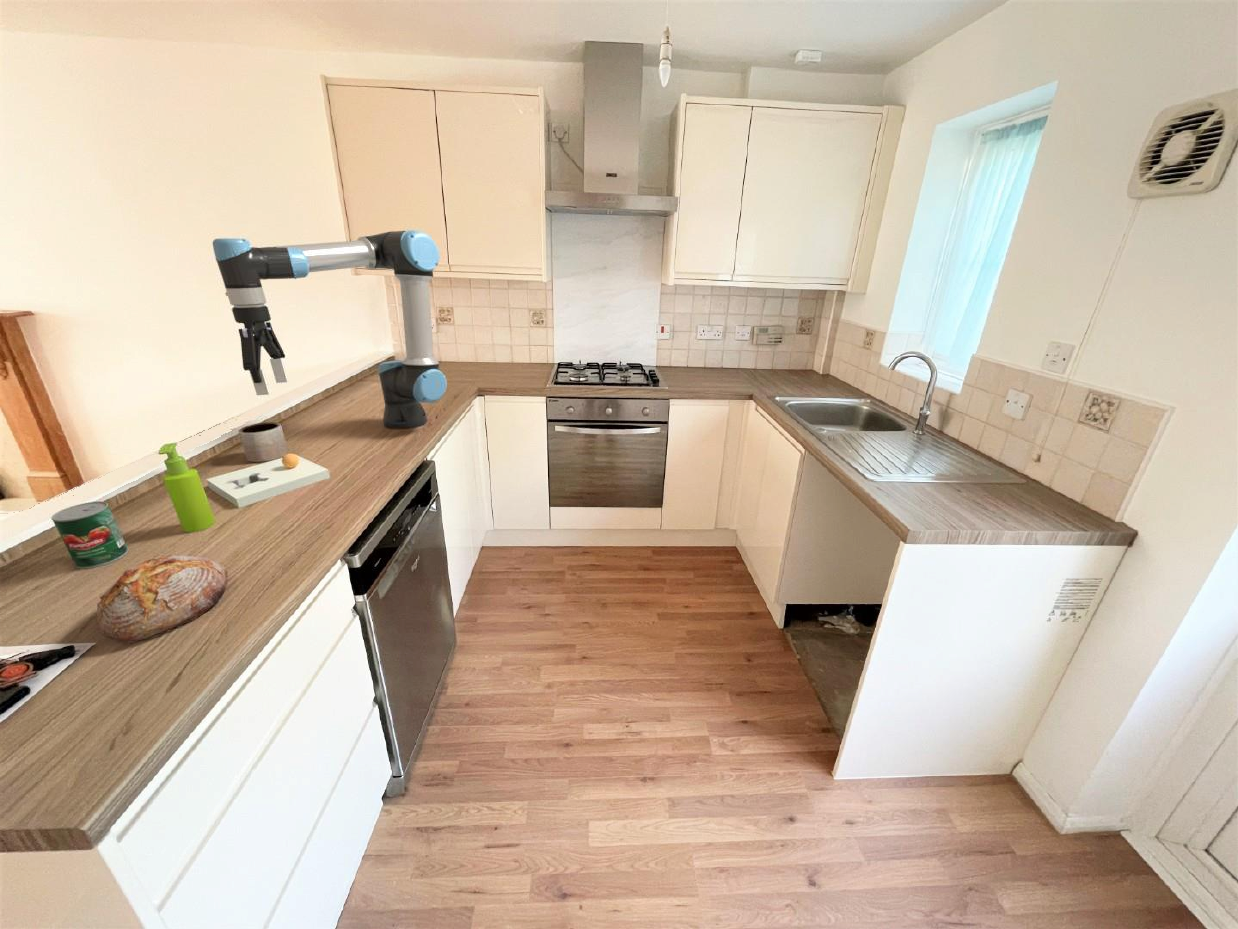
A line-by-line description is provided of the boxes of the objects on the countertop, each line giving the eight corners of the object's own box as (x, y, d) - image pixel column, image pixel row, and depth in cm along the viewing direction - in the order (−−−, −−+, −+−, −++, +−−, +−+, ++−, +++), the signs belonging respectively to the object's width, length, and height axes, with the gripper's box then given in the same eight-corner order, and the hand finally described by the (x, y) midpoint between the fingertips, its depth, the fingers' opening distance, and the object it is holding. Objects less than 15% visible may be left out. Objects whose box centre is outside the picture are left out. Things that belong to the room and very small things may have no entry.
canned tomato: (82, 573, 96) (57, 524, 92) (70, 561, 100) (45, 513, 96) (134, 554, 102) (113, 507, 98) (121, 543, 106) (100, 498, 102)
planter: (239, 460, 150) (229, 430, 146) (273, 448, 159) (265, 420, 155) (263, 465, 146) (253, 435, 142) (297, 453, 155) (289, 424, 151)
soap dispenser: (178, 536, 109) (144, 452, 101) (187, 523, 114) (155, 442, 106) (211, 530, 111) (180, 448, 103) (218, 517, 117) (189, 438, 109)
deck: (297, 461, 148) (294, 454, 147) (330, 477, 138) (328, 469, 137) (209, 487, 132) (206, 479, 131) (239, 508, 121) (236, 499, 120)
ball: (296, 463, 141) (292, 450, 139) (303, 466, 139) (299, 453, 137) (281, 467, 138) (277, 454, 136) (287, 471, 136) (283, 457, 134)
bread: (77, 660, 77) (43, 610, 73) (155, 584, 95) (130, 540, 90) (195, 638, 80) (169, 588, 76) (249, 568, 98) (230, 525, 94)
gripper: (252, 301, 134) (274, 378, 142) (207, 311, 112) (237, 401, 120) (283, 300, 136) (303, 376, 144) (245, 310, 113) (271, 399, 122)
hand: (273, 388), depth 132 cm, fingers open, 13 cm apart
